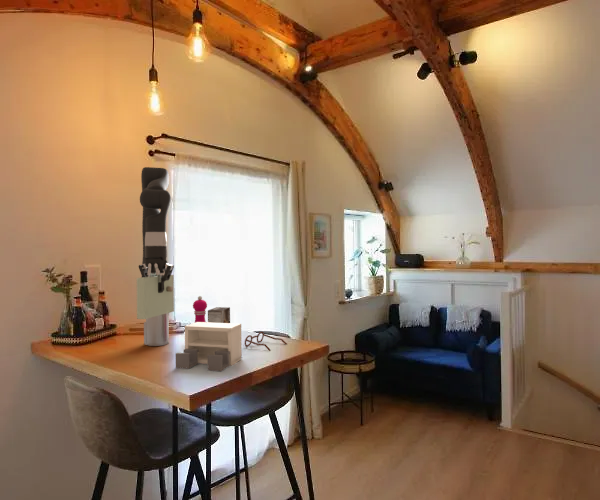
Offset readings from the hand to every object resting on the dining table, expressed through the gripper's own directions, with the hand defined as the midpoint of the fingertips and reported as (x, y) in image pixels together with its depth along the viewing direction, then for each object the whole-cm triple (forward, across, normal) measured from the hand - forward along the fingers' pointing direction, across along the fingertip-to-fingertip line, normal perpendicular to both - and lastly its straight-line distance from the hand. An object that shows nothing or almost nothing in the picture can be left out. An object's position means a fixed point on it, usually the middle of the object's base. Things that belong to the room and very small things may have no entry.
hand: (156, 292), depth 155 cm
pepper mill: (+25, -1, +33) cm, 42 cm away
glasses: (+26, +30, +33) cm, 51 cm away
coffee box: (+25, +12, +25) cm, 38 cm away
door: (+8, 0, 0) cm, 8 cm away
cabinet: (+25, +20, +2) cm, 32 cm away
